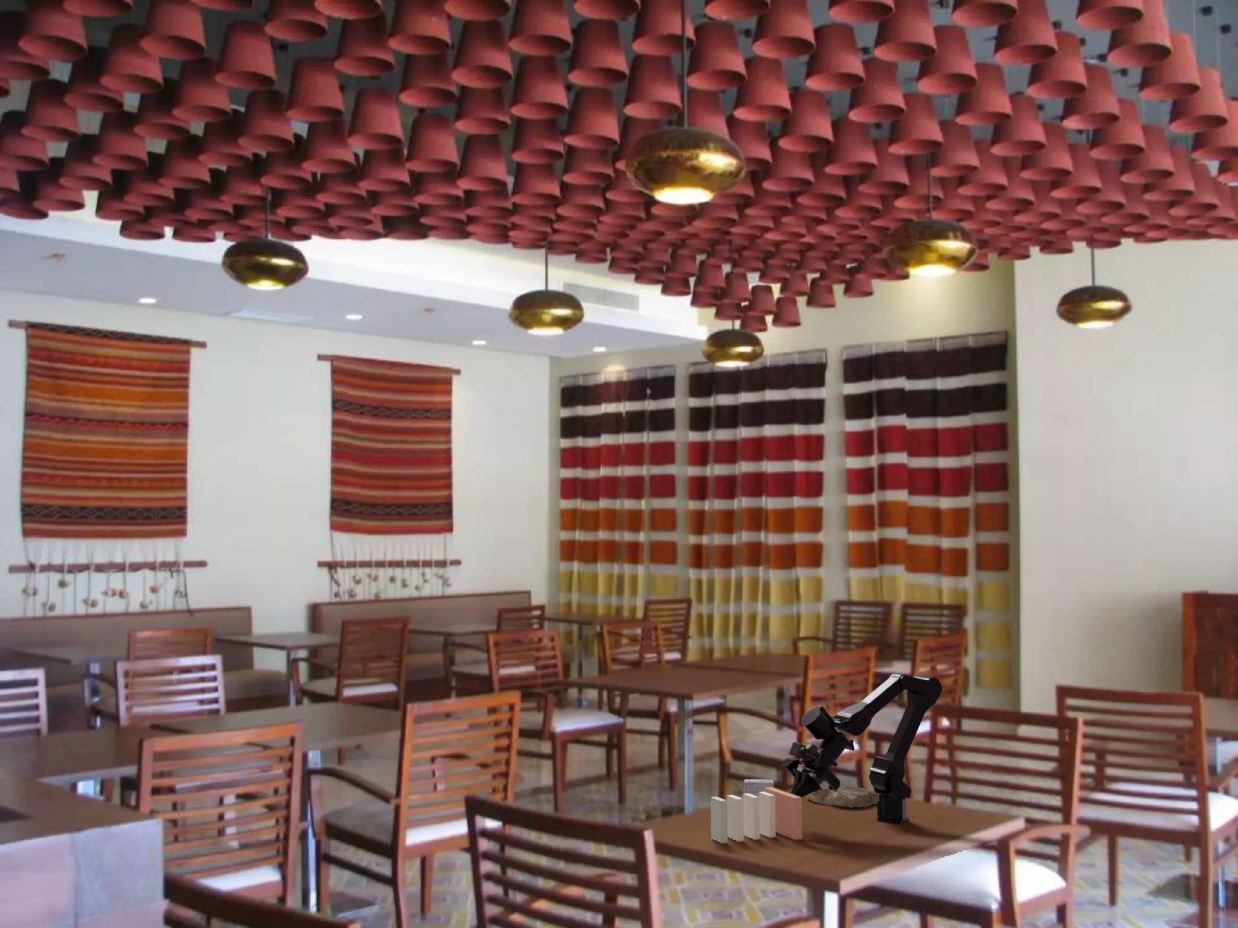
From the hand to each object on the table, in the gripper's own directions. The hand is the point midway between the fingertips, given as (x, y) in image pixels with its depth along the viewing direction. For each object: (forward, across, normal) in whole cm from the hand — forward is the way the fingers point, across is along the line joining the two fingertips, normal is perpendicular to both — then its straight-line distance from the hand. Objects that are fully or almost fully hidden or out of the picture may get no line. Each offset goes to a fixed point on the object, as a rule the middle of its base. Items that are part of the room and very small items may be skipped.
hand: (790, 800), depth 310 cm
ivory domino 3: (+10, 0, +1) cm, 10 cm away
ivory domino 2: (+14, 0, -2) cm, 14 cm away
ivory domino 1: (+17, 0, -6) cm, 18 cm away
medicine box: (+3, -21, +8) cm, 23 cm away
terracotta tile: (+7, 0, +4) cm, 8 cm away
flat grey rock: (-16, -25, +28) cm, 41 cm away
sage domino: (+20, 0, -9) cm, 22 cm away
